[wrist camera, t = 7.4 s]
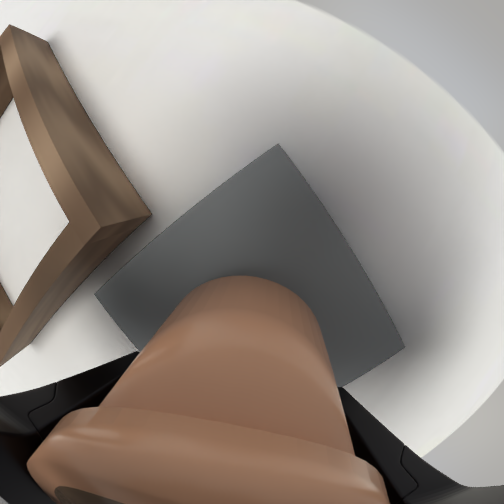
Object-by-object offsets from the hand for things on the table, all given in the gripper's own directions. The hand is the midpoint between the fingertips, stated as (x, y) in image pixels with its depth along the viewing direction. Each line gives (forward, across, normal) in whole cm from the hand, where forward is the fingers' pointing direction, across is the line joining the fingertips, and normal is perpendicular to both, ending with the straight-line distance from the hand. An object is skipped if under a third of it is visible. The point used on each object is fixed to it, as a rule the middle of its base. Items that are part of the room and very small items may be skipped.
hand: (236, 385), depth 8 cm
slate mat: (+4, 0, 0) cm, 4 cm away
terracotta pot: (+2, 0, 0) cm, 2 cm away
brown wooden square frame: (+4, +16, -4) cm, 17 cm away
